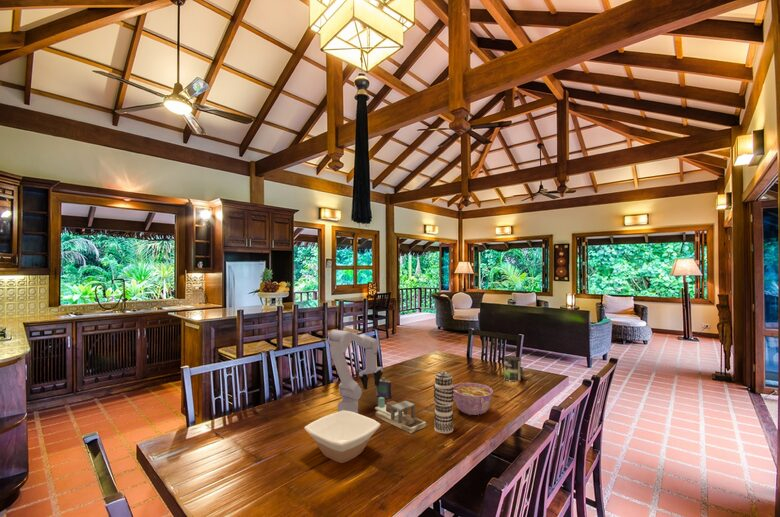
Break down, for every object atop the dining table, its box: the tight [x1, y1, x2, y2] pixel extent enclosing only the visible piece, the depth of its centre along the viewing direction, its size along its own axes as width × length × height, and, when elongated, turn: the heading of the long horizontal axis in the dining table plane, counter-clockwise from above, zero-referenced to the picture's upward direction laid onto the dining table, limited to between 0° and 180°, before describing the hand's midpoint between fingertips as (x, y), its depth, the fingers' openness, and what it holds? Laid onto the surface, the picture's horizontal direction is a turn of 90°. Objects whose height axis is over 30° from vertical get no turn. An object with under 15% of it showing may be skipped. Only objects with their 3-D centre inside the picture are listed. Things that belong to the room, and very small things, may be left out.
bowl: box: [304, 410, 381, 464], centre depth 139 cm, size 24×25×11 cm
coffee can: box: [503, 355, 521, 382], centre depth 229 cm, size 10×10×14 cm
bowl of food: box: [452, 382, 494, 416], centre depth 177 cm, size 20×20×12 cm
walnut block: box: [385, 400, 398, 413], centre depth 171 cm, size 4×4×4 cm
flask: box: [375, 376, 392, 399], centre depth 198 cm, size 9×3×11 cm, turn 65°
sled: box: [374, 397, 404, 417], centre depth 172 cm, size 6×14×5 cm, turn 42°
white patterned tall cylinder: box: [433, 371, 455, 435], centre depth 159 cm, size 9×9×25 cm
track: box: [375, 400, 427, 434], centre depth 166 cm, size 10×24×8 cm, turn 42°
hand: (371, 387), depth 184 cm, fingers open, 7 cm apart
